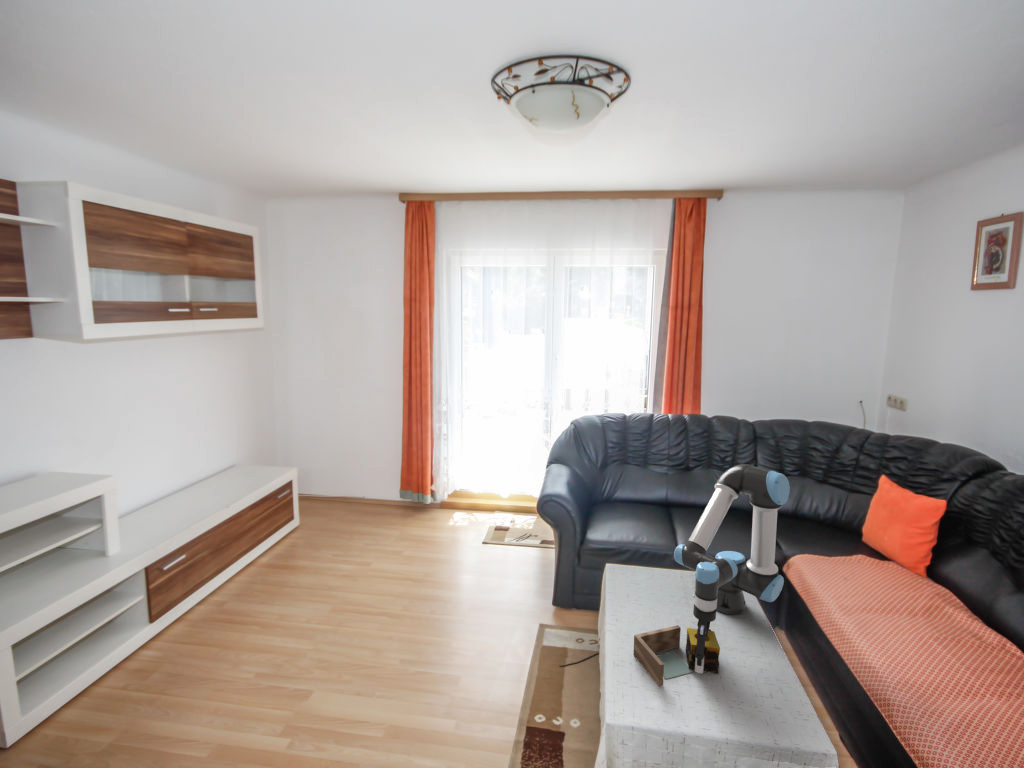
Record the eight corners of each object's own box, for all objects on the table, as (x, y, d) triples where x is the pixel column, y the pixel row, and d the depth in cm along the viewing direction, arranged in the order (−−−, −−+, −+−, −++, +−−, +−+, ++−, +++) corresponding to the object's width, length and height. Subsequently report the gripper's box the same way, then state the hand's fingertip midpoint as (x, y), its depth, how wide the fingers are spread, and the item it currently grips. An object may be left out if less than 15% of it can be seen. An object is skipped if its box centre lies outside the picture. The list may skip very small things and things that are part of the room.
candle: (718, 675, 178) (721, 649, 176) (688, 670, 180) (690, 644, 178) (713, 655, 188) (715, 631, 186) (684, 651, 190) (686, 627, 188)
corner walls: (677, 644, 194) (678, 625, 193) (705, 673, 178) (707, 653, 177) (633, 654, 188) (634, 635, 187) (659, 686, 173) (660, 665, 171)
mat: (673, 652, 189) (673, 651, 189) (692, 672, 179) (692, 671, 179) (648, 658, 186) (648, 657, 186) (665, 679, 176) (665, 678, 176)
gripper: (698, 586, 193) (695, 636, 196) (688, 622, 171) (685, 679, 174) (719, 591, 189) (716, 642, 193) (712, 629, 168) (708, 686, 171)
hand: (701, 660), depth 184 cm, fingers open, 13 cm apart
